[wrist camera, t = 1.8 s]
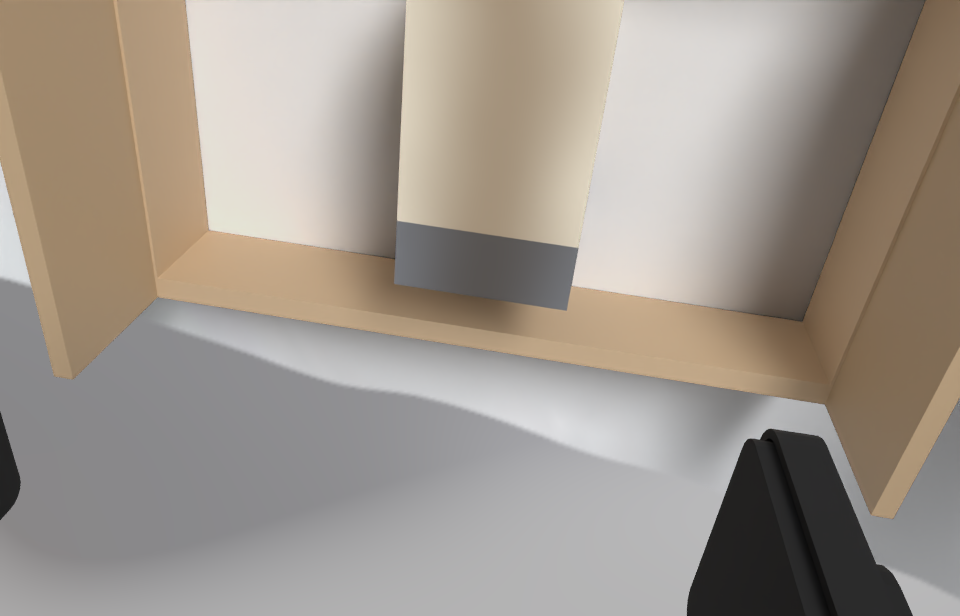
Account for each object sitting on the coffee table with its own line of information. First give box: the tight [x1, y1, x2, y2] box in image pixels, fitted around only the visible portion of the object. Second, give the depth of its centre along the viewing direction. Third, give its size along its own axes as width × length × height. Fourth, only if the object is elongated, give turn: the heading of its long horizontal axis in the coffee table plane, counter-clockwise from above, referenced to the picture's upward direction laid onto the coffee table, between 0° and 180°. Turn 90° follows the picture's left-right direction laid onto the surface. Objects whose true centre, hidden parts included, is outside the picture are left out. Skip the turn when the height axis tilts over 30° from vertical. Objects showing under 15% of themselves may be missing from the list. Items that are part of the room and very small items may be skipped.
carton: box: [0, 0, 960, 519], centre depth 21 cm, size 25×17×9 cm
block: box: [394, 0, 624, 311], centre depth 22 cm, size 5×9×7 cm, turn 174°
